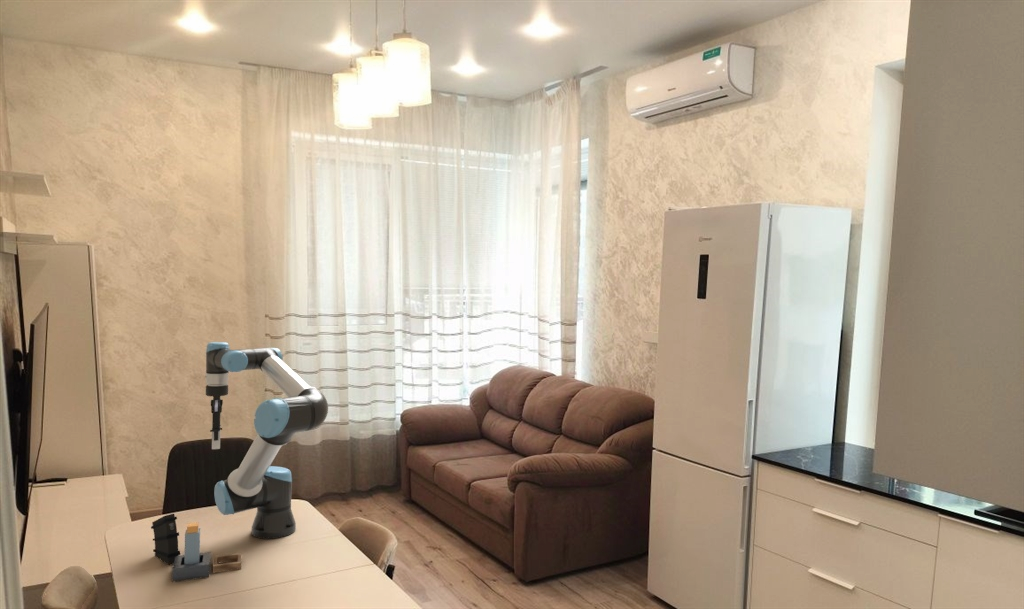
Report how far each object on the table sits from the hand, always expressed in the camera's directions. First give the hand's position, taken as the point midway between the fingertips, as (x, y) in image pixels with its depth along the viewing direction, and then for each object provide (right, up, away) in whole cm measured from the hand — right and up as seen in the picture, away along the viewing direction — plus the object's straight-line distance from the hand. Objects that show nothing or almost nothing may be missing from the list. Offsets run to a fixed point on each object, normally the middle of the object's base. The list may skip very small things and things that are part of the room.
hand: (215, 448), depth 234 cm
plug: (+9, -30, -36) cm, 48 cm away
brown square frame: (+18, -30, -31) cm, 47 cm away
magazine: (-4, -30, -26) cm, 40 cm away
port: (+9, -30, -36) cm, 48 cm away
